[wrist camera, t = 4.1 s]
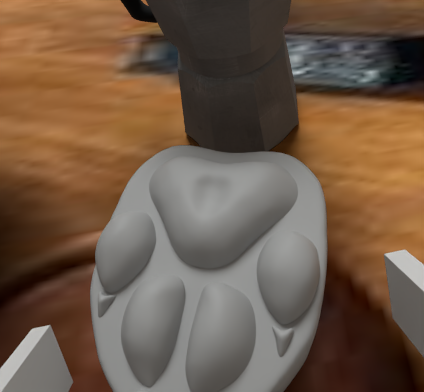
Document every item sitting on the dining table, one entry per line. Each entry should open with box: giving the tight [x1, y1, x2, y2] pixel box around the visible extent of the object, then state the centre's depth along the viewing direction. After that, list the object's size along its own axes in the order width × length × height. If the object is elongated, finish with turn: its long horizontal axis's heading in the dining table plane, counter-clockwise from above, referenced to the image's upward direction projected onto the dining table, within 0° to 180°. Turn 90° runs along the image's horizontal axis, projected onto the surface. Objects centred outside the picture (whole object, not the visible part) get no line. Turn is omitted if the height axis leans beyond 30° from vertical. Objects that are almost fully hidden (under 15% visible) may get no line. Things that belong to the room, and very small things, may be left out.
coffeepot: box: [121, 0, 299, 153], centre depth 22 cm, size 15×9×18 cm, turn 65°
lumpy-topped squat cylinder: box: [90, 145, 327, 392], centre depth 19 cm, size 10×13×9 cm
